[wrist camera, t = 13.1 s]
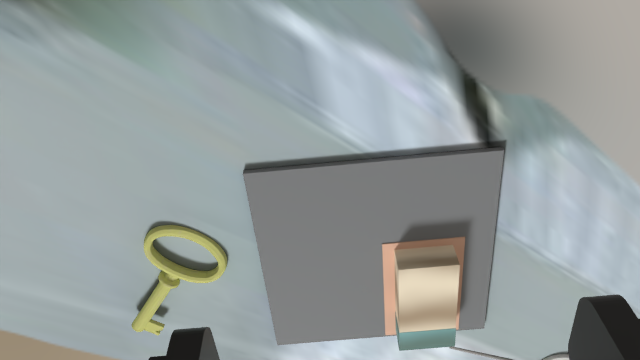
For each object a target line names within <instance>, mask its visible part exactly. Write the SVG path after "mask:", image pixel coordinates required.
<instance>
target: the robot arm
mask: <svg viewBox="0 0 640 360" xmlns="http://www.w3.org/2000/svg"><path fill="white" fill-rule="evenodd" d="M568 353H569V360H640V319H638V318H637V317H636V315H635V313H634V312H633V310H632V309H631V307H630V306H629V304H628V303H627V301H626V300H625V299H624V298H623V297H622V296H620V295H607V296H595V297H583V298H581V299H580V300H579V303H578V306H577V311H576V315H575V319H574V323H573V327H572V331H571V335H570V339H569V344H568ZM149 360H220V359H219V356H218V352H217V349H216V346H215V342H214V339H213V336H212V332H211V330H210V328H209V327H202V328H190V329H178V330H174V331H173V333H172V335H171V339H170V343H169V347H168V351H167V355H166V356H157V357H150V358H149Z"/></svg>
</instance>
